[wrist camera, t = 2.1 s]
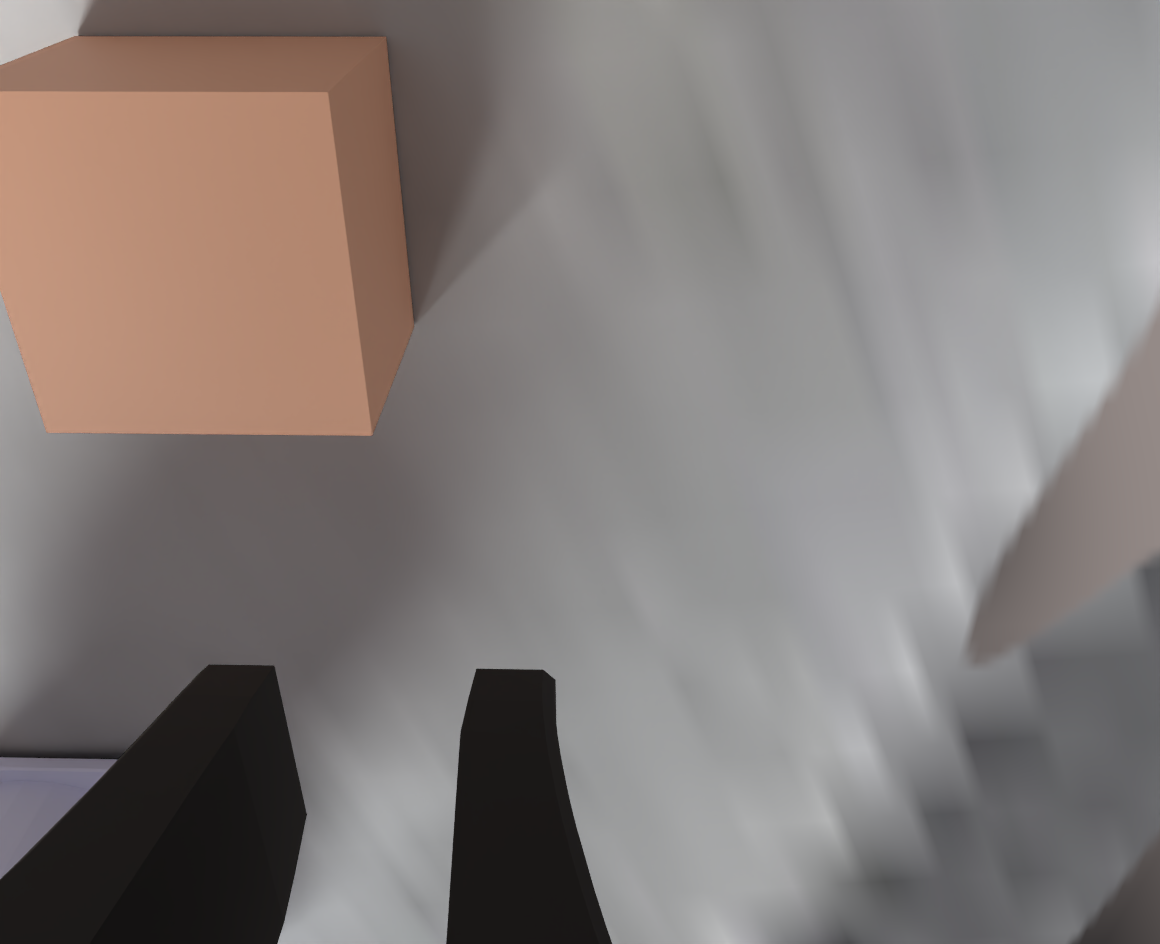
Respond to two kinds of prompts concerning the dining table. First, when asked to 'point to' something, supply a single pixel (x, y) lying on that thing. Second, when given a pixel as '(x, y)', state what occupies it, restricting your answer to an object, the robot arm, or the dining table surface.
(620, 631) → the dining table surface
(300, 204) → the key block
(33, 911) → the robot arm
